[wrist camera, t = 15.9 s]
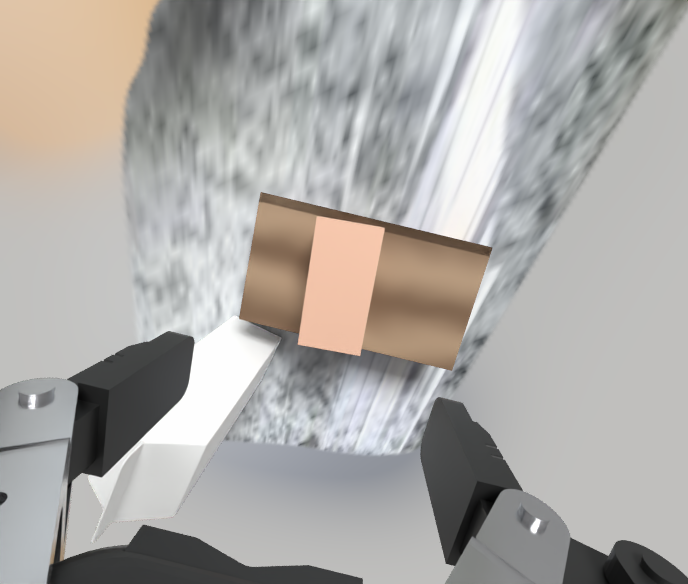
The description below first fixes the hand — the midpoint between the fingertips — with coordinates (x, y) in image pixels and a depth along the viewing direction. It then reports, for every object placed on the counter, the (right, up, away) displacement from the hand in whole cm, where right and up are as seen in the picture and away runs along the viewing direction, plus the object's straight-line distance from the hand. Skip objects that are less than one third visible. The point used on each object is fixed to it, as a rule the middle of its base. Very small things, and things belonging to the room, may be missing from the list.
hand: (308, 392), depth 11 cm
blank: (+1, +5, +19) cm, 20 cm away
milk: (-10, -3, +28) cm, 30 cm away
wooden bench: (+3, +5, +25) cm, 26 cm away
